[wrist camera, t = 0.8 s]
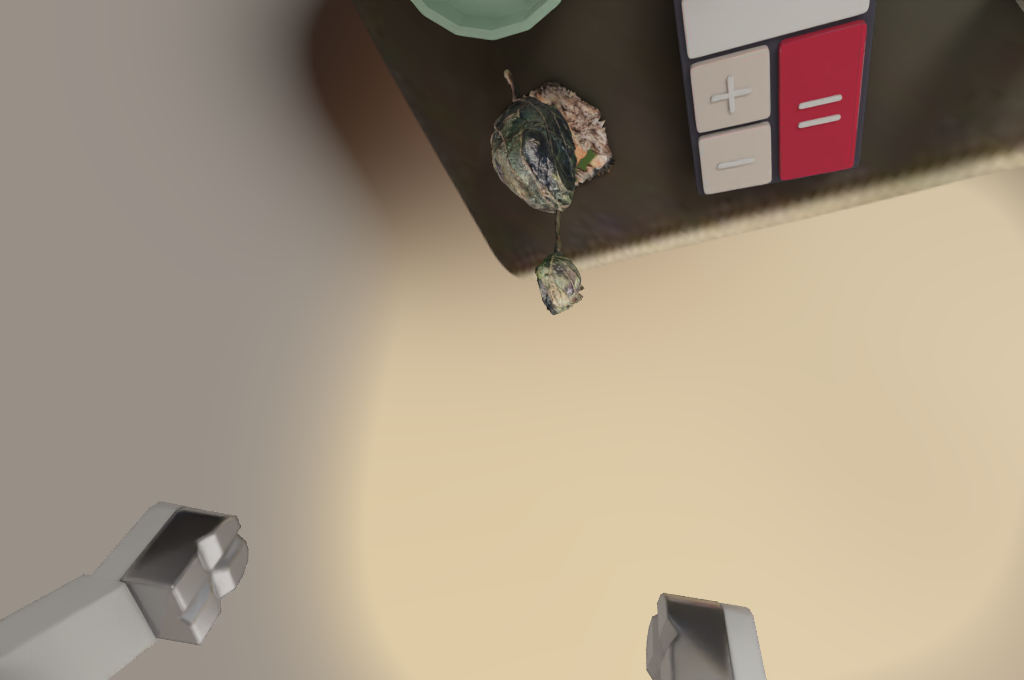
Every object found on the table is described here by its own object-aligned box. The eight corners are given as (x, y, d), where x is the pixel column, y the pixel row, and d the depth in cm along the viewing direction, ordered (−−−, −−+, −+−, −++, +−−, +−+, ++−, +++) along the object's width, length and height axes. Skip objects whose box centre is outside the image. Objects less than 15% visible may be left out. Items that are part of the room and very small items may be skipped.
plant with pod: (583, 33, 40) (545, 183, 26) (621, 174, 47) (606, 349, 33) (479, 69, 43) (397, 220, 29) (530, 196, 50) (482, 365, 36)
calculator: (698, 203, 44) (671, -5, 33) (695, 172, 46) (670, -30, 36) (862, 174, 40) (889, -71, 30) (848, 142, 43) (868, -93, 32)
